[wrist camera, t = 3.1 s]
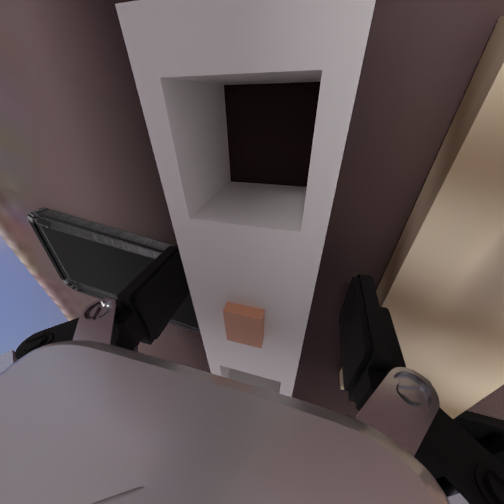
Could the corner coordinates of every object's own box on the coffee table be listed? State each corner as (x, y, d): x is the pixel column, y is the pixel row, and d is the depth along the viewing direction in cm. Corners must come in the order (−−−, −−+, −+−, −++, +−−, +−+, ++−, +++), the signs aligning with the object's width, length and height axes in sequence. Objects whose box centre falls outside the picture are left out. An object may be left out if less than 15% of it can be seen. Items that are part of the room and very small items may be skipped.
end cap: (362, 422, 20) (375, 535, 15) (389, 389, 16) (420, 529, 11) (489, 460, 18) (556, 608, 13) (557, 433, 14) (696, 634, 9)
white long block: (202, 42, 8) (94, -6, 4) (355, 29, 6) (391, -53, 3) (235, 346, 19) (214, 404, 15) (293, 360, 17) (285, 427, 14)
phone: (21, 208, 15) (230, 271, 13) (38, 201, 15) (236, 260, 13) (66, 287, 19) (222, 342, 17) (77, 279, 20) (227, 330, 18)
